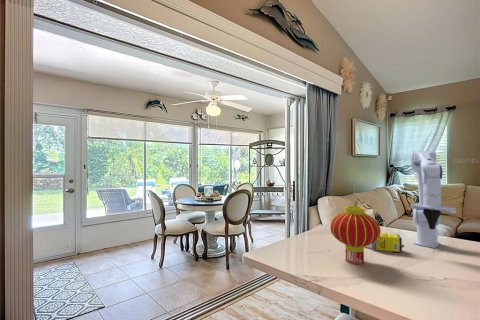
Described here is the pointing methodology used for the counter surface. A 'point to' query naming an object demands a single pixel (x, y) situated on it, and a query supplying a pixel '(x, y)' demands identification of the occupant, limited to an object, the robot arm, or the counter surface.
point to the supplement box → (388, 242)
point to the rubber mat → (379, 250)
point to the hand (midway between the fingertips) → (432, 228)
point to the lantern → (355, 231)
